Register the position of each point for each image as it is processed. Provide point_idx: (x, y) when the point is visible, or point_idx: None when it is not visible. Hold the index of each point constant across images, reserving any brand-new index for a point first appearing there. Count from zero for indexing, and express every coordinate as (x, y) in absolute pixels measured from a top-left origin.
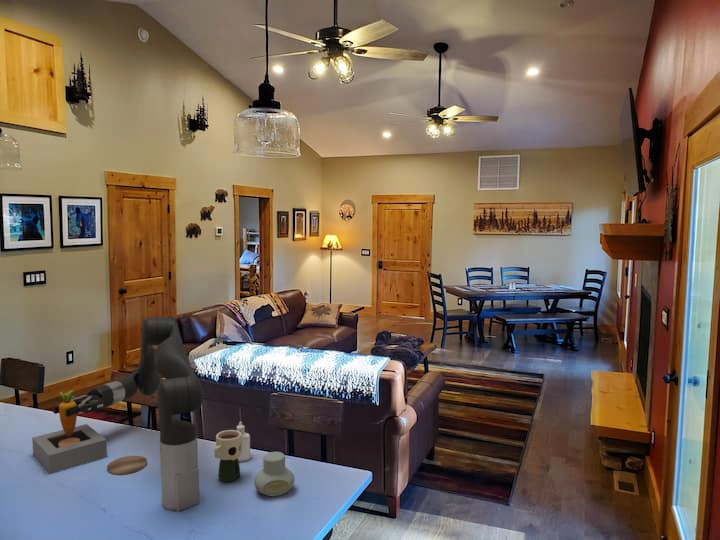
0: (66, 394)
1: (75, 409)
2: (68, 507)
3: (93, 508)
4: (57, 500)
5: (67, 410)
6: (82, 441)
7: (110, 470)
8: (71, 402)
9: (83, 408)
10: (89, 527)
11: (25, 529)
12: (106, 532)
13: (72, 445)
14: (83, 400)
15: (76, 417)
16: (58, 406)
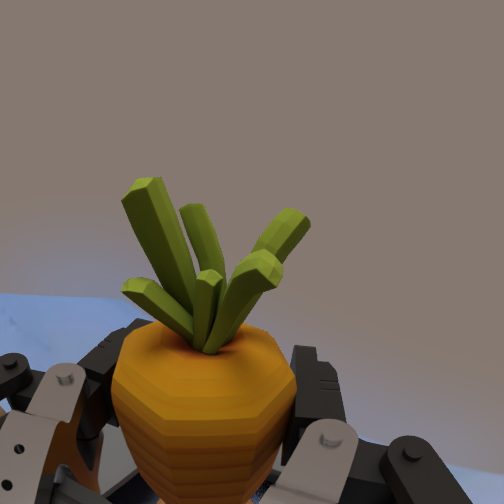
0: (181, 211)
1: (90, 353)
2: (61, 328)
3: (25, 324)
4: (86, 342)
5: (137, 322)
6: (105, 487)
7: (2, 410)
8: (146, 335)
9: (33, 376)
10: (27, 300)
11: (102, 301)
12: (11, 294)
13: (129, 451)
14: (46, 453)
15: (142, 476)
16: (295, 366)
